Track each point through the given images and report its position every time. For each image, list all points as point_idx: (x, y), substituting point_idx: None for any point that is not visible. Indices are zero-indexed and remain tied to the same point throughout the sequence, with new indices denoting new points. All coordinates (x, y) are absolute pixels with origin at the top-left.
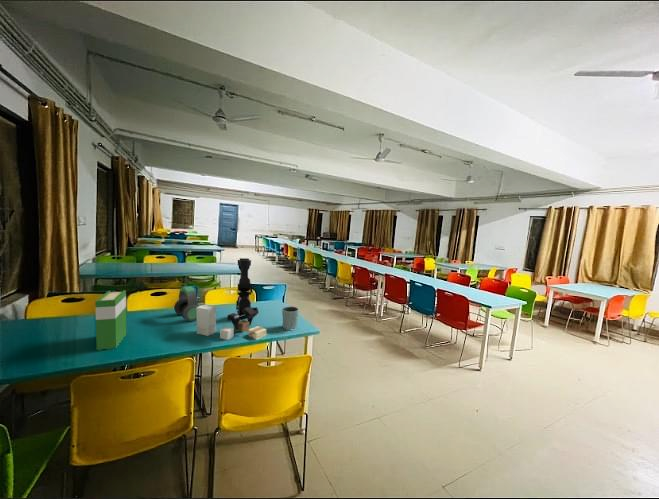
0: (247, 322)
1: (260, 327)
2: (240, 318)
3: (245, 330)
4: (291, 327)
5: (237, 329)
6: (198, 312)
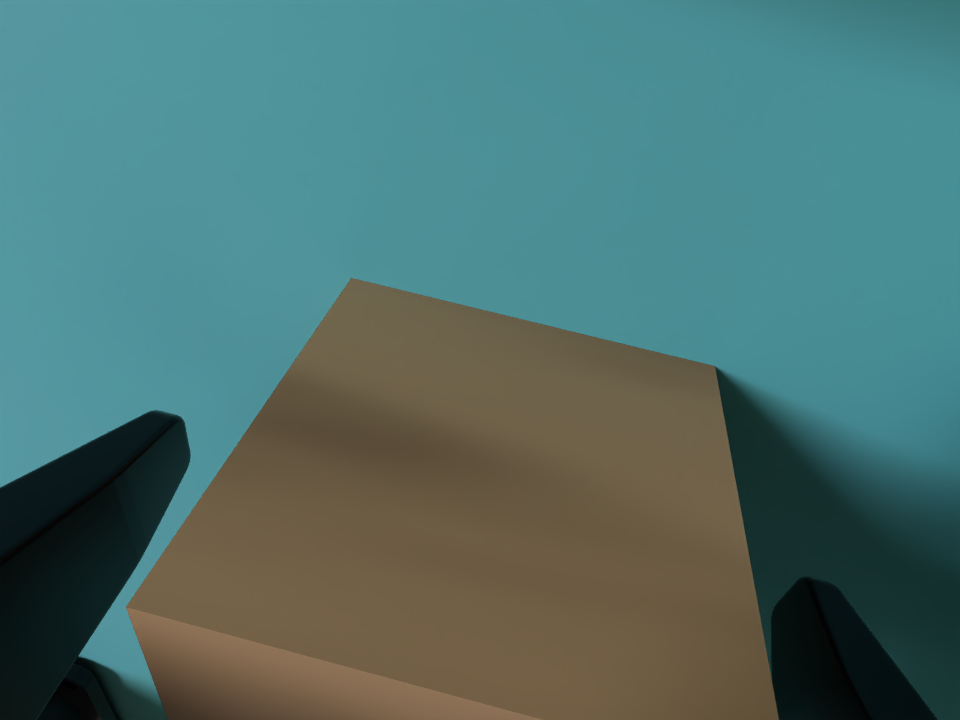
0: (293, 670)
1: None
2: (88, 702)
3: (553, 351)
4: None
5: (844, 619)
6: None
